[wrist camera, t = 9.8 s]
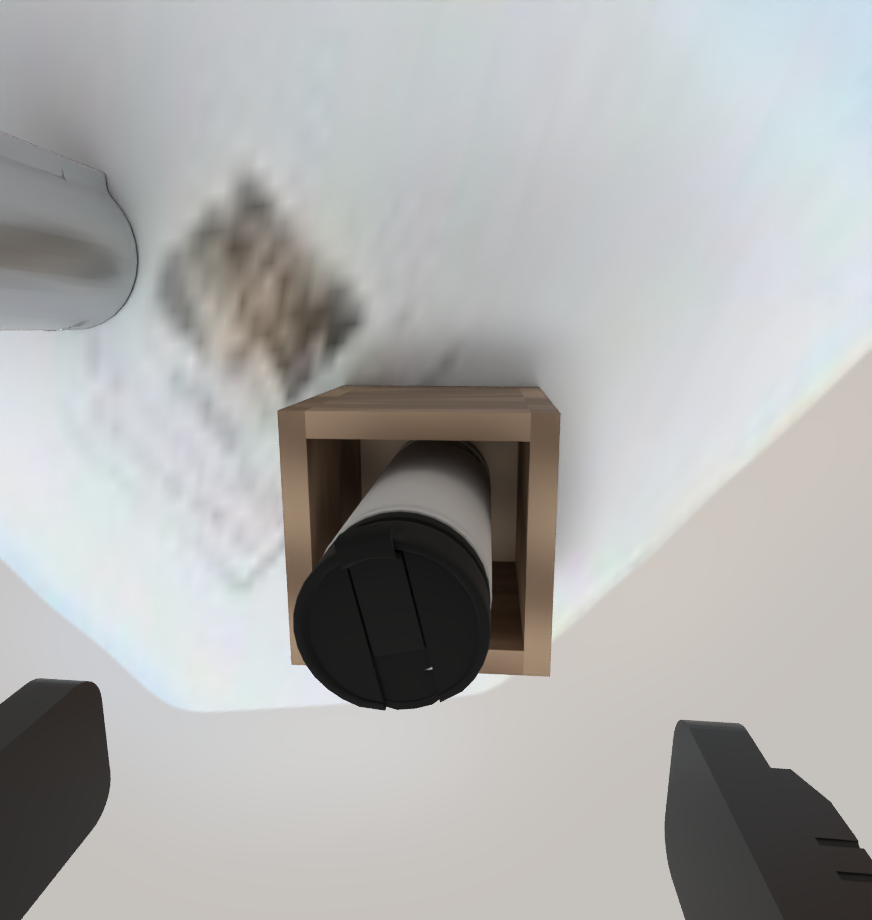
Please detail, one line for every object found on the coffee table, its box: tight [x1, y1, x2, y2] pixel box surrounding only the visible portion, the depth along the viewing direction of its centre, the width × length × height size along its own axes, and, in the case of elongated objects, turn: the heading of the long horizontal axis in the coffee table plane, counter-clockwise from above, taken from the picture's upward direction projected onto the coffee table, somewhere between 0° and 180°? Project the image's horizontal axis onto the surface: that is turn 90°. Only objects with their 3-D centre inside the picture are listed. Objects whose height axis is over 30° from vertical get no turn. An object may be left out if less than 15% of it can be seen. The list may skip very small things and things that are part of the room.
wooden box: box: [278, 386, 560, 676], centre depth 33 cm, size 12×12×12 cm
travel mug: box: [293, 440, 492, 710], centre depth 28 cm, size 6×7×20 cm
